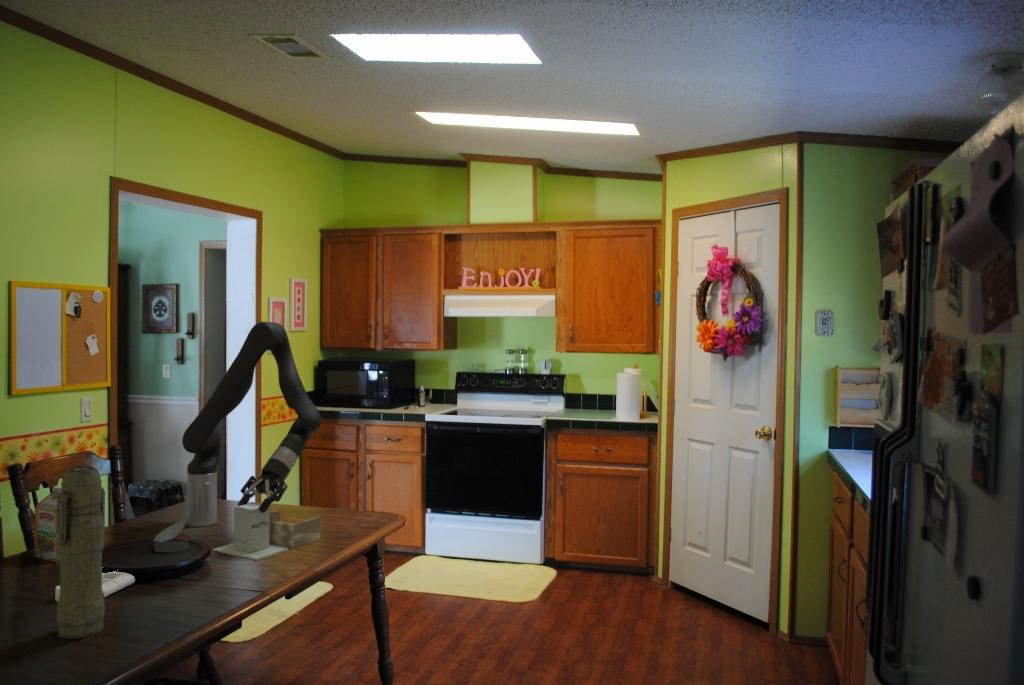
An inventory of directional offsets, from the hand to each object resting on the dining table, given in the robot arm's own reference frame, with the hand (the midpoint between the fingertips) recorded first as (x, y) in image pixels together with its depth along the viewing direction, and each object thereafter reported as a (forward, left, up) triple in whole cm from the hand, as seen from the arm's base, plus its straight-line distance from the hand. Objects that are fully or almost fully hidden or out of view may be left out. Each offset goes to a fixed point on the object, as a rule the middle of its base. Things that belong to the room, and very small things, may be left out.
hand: (250, 509), depth 225 cm
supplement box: (0, 0, -12) cm, 12 cm away
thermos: (+15, -61, -12) cm, 64 cm away
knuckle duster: (-7, -44, -13) cm, 46 cm away
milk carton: (-42, -30, -12) cm, 53 cm away
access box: (0, +14, -12) cm, 19 cm away
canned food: (-22, -10, -13) cm, 27 cm away
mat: (0, 0, -12) cm, 12 cm away
